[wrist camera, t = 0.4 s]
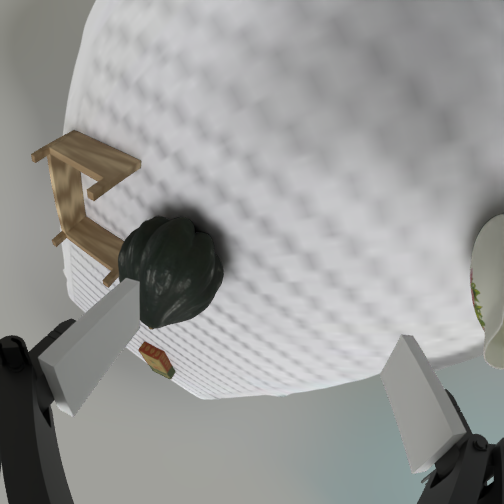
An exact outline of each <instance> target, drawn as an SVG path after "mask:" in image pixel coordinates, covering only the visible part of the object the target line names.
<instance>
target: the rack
mask: <svg viewBox="0 0 504 504" xmlns="http://www.w3.org/2000/svg"><path fill="white" fill-rule="evenodd" d="M46 156H47V158H48V165H49V172H50V178H51V183H52V189H53V194H54V198H55V203H56V208H57V212H58V217H59V220H60V225H61V229H62V231H61V232H60V233H59V234H58V235H57V236H56V237H55V238H54V239H52V242H53V245H55V246H56V247H57V246H58V245H59V244H60V243H61V242H63V241H64V240H65V239H66V238H68V239H69V240H70V241H71V242H73V243H74V244H75V245H77V246H78V247H79V248H81V249H82V250H83V251H84V252H86V253H87V254H89V255H90V256H91V257H93V258H94V259H95V260H97V261H98V262H99V263H101V264H102V265H104V266H105V267H106V268H108V269H109V270H111V272H110V273H109V274H108V275H107V276H106V277H105V278H104V279H103V284H104V285H105V286H107V287H108V288H109V287H110V286H111V284H112V283H113V282H114V281H115V280H116V279H117V278H118V277H119V269H118V255H119V252H120V250H121V247H122V244H123V242H124V241H122V240H121V239H119V238H118V237H116V236H115V235H113V234H112V233H110V232H109V231H107V230H106V229H104V228H103V227H101V226H100V225H98V224H97V223H95V222H94V221H92V220H91V219H89V218H88V217H86V213H85V207H84V200H83V192H82V183H81V173H80V172H82V173H84V174H86V175H87V176H89V177H91V178H93V179H94V180H96V181H98V182H97V183H96V184H94V185H93V186H91V187H90V188H89V189H87V195H88V198H90V199H91V200H93V201H95V200H96V199H98V198H99V197H100V196H102V195H103V194H104V193H106V192H107V191H108V190H110V189H111V188H112V187H114V186H115V185H117V184H118V183H119V182H121V181H122V180H124V179H125V178H127V177H128V176H130V175H131V174H132V173H134V172H135V171H137V170H138V169H140V168H141V161H140V160H138V159H136V158H134V157H132V156H130V155H128V154H125V153H123V152H121V151H119V150H117V149H115V148H113V147H110V146H108V145H106V144H104V143H102V142H100V141H97V140H95V139H93V138H91V137H88V136H86V135H84V134H82V133H80V132H77V131H75V130H73V131H71V132H69V133H67V134H65V135H64V136H62V137H60V138H58V139H56V140H55V141H53V142H51V143H49V144H48V145H46V146H44V147H42V148H40V149H39V150H37V151H36V152H34V153H32V154H31V157H32V161H33V162H35V163H36V162H38V161H39V160H41V159H43V158H44V157H46Z"/></svg>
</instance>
